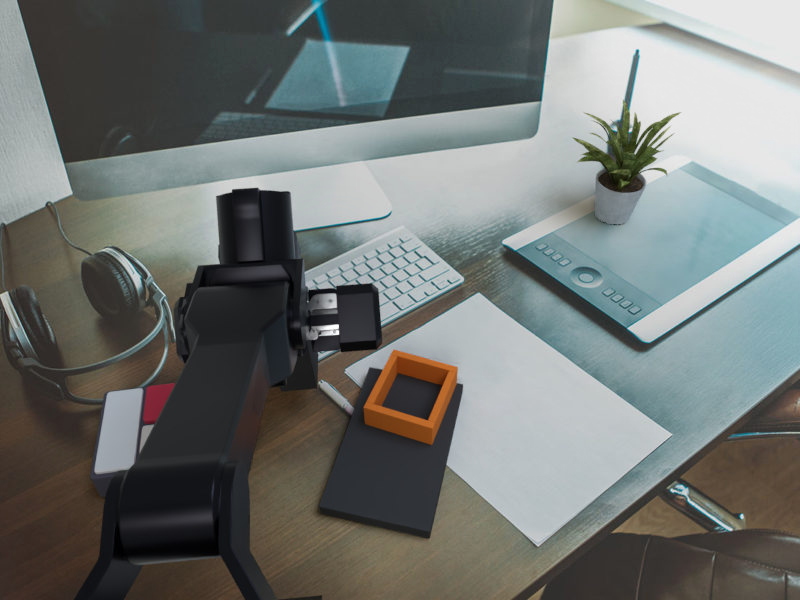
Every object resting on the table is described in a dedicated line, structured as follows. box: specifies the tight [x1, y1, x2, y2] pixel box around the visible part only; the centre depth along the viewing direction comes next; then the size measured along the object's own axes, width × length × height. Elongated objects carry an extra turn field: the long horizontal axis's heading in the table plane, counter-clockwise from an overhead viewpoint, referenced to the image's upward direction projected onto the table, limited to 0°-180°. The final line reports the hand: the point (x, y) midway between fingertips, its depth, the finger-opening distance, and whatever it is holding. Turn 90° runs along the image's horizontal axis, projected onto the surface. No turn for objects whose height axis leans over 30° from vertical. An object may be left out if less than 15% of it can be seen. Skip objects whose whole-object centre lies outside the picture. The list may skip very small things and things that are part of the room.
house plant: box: [572, 99, 682, 226], centre depth 93 cm, size 14×14×16 cm
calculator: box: [89, 382, 176, 498], centre depth 69 cm, size 11×4×15 cm
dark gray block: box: [279, 301, 319, 393], centre depth 68 cm, size 5×4×13 cm
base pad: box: [318, 349, 464, 539], centre depth 68 cm, size 19×11×4 cm, turn 166°
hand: (290, 322), depth 69 cm, fingers closed on dark gray block, 4 cm apart
